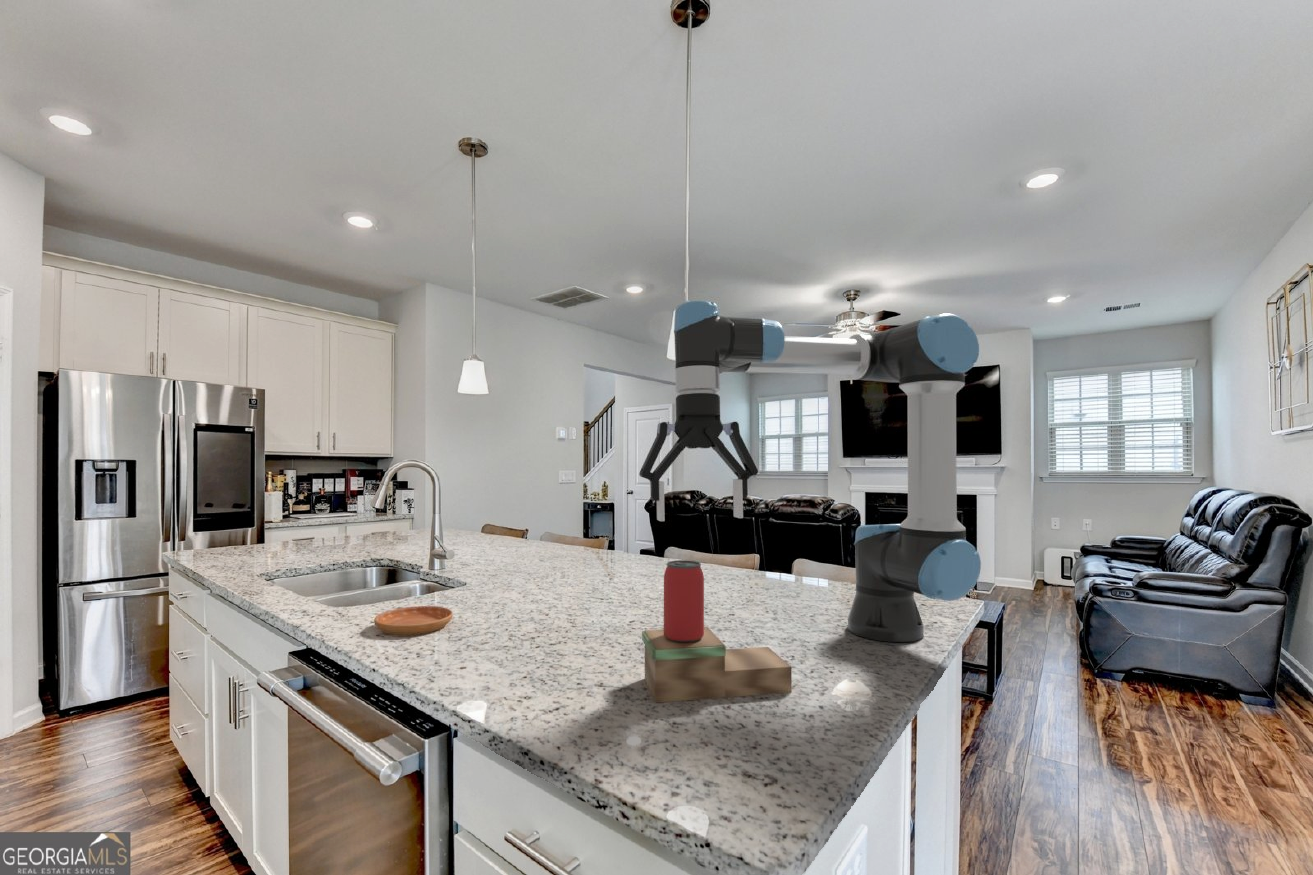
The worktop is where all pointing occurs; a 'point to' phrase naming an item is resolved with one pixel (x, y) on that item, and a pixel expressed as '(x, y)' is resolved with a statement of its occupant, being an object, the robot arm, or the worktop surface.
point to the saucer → (413, 620)
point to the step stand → (710, 669)
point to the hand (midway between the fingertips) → (700, 519)
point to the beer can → (683, 601)
